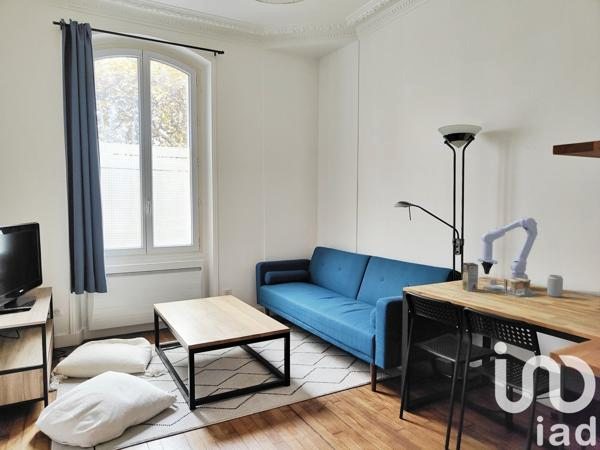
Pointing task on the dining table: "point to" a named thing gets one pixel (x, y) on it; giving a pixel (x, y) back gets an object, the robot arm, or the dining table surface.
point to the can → (555, 286)
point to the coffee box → (470, 277)
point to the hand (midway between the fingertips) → (486, 274)
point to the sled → (494, 282)
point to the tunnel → (525, 283)
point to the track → (509, 291)
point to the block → (517, 285)
